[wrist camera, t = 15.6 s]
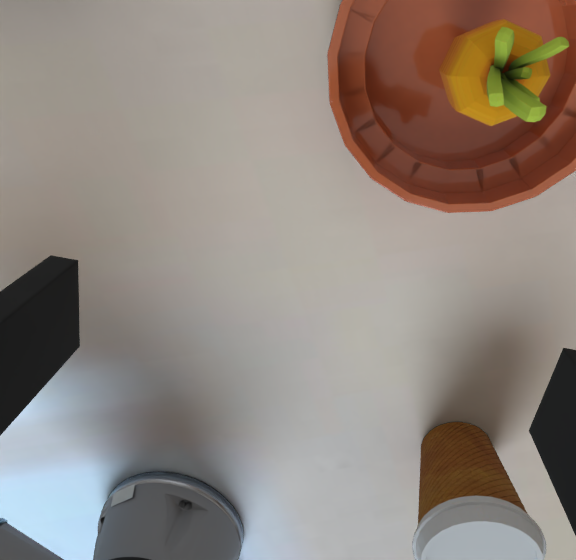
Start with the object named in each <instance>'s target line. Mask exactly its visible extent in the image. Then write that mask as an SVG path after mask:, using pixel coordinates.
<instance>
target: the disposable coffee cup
mask: <svg viewBox="0 0 576 560" xmlns="http://www.w3.org/2000/svg"><path fill="white" fill-rule="evenodd" d="M412 546H413V554H414V558H415V560H544V558H545V554H546V541H545V538H544V535H543V533H542V531H541V529H540V527H539V526H538V525H537V523H536V522H535V521H534V520H533V519H532V518H531V517H530V516H529V515H528V514H527V512H526V510H525V508H524V506H523V504H522V503H521V500H520V498H519V496H518V494H517V492H516V490H515V488H514V486H513V485H512V483H511V481H510V479H509V476H508V475H507V472H506V471H505V469H504V467H503V465H502V463H501V461H500V459H499V457H498V455H497V453H496V451H495V449H494V447H493V445H492V443H491V441H490V439H489V437H488V436H487V434H486V433H485V432H483V431H482V430H481V429H480V428H478V427H476V426H474V425H471V424H468V423H463V422H451V423H446V424H442V425H440V426H437V427H435V428H434V429H432V430H431V431H430V432H429V433H428V434H427V435H426V436H425V438H424V439H423V442H422V444H421V465H420V489H419V514H418V527H417V529H416V532H415V534H414V538H413V542H412Z"/></svg>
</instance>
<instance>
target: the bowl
mask: <svg viewBox="0 0 576 560" xmlns="http://www.w3.org/2000/svg"><path fill="white" fill-rule="evenodd" d="M502 19H505V20H507V21H509V22H512V23H514V24H516V25H518V26H520V27H523V28H525V29H527V30H529V31H531V32H534V33H536V34H538V35H540V36H542V41H543V45H544V44H546V43H547V42H549V41H551V40H553V39H555V38H557V37H564V38H566V39H567V40H568V42H569V47H568V48H566V49H564V50H563V51H561V52H559V53H557V54H556V55H554V56H552V57H550V58H547V62H548V67H549V71H550V77H549V79H548V81H547V82H546V84H545V86H544V87H543V89H542V91H541V93H540V94H539V96H538V97H539V98H540V102H541V103H542V104H544V105H546V113H545V115H544V116H543V118H542V119H541V120H539V121H536V122H526V121H524V120H523V119H521V118H520V117H518V116H517V117H514V118H511V119H509V120H506V121H504V122H501V123H498V124H496V125H493V126H489V125H486V124H484V123H482V122H479V121H477V120H475V119H473V118H470V117H468V116H466V115H464V114H461V113H459V112H457V111H455V109H454V108H453V107H452V106H451V104H450V103H449V101H448V98H447V95H446V92H445V88H444V85H443V82H442V78H441V75H440V72H439V68H440V66H441V64H442V62H443V60H444V58H445V56H446V54H447V52H448V50H449V48H450V46H451V44H452V42H453V40H454V38H455V37H457V36H459V35H461V34H464V33H466V32H468V31H471V30H473V29H475V28H478V27H480V26H482V25H485V24H487V23H490V22H493V21H496V20H502ZM328 78H329V101H330V105H331V108H332V111H333V114H334V117H335V119H336V122H337V125H338V128H339V130H340V133H341V136H342V139H343V142H344V144H345V146H346V147H347V148H348V150H349V151H350V152H351V154H352V155H353V156H354V157H355V159H356V160H357V161H358V163H359V164H360V165H361V166H362V168H363V169H364V170H365V171H366V173H367V174H368V175H369V177H370V178H372V179H373V180H374V181H376V182H377V183H379V184H380V185H382V186H383V187H385V188H386V189H388V190H389V191H391V192H392V193H394V194H395V195H397V196H398V197H400V198H401V199H403V200H404V201H407V202H410V203H413V204H417V205H421V206H424V207H428V208H432V209H435V210H439V211H442V212H448V213H452V212H482V211H493V210H496V209H499V208H502V207H505V206H509V205H512V204H515V203H518V202H521V201H524V200H527V199H530V198H533V197H536V196H537V195H539V194H541V193H542V192H544V191H545V190H547V189H548V188H550V187H551V186H553V185H554V184H556V183H557V182H559V181H560V180H562V179H563V178H565V177H567V176H568V175H570V174H571V173H573V172H574V171H576V0H342V2H341V4H340V7H339V11H338V15H337V19H336V23H335V27H334V31H333V35H332V38H331V42H330V46H329V50H328Z"/></svg>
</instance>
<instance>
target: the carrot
mask: <svg viewBox="0 0 576 560" xmlns="http://www.w3.org/2000/svg"><path fill="white" fill-rule="evenodd" d="M568 47H569V42H568V40H567V39H566V38H564V37H557V38H555V39H553V40H551V41H549V42H547V43H546V44H544V45H543V41H542V36H540V35H538V34H536V33H534V32H531V31H529V30H527V29H525V28H523V27H520V26H518V25H516V24H514V23H512V22H509V21H507V20H505V19H502V20H496V21H493V22H490V23H487V24H485V25H482V26H480V27H478V28H475V29H473V30H471V31H468V32H466V33H464V34H461V35H459V36H457V37H455V38H454V40H453V42H452V44H451V46H450V48H449V50H448V52H447V54H446V56H445V58H444V60H443V62H442V64H441V66H440V68H439V72H440V75H441V78H442V82H443V85H444V88H445V92H446V95H447V98H448V101H449V103H450V104H451V106H452V107H453V108H454V109H455V111H457V112H459V113H461V114H464V115H466V116H468V117H470V118H473V119H475V120H477V121H479V122H482V123H484V124H486V125H489V126H493V125H496V124H498V123H501V122H504V121H506V120H509V119H511V118H514V117H517V116H518V117H520V118H521V119H523V120H524V121H526V122H536V121H539V120H541V119H542V118H543V116H544V115H545V113H546V105H544V104H542V103H541V102H540V98H539V97H538V96H539V94H540V93H541V91H542V89H543V87H544V86H545V84H546V82H547V81H548V79H549V77H550V71H549V67H548V62H547V58H550V57H552V56H554V55H556V54H557V53H559V52H561V51H563V50H564V49H566V48H568Z"/></svg>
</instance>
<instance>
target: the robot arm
mask: <svg viewBox="0 0 576 560" xmlns="http://www.w3.org/2000/svg"><path fill="white" fill-rule="evenodd" d="M79 347H80V339H79V286H78V260H73V259H68V258H62V257H56V256H49V257H48V258H47V259H45V260H44V261H42V262H41V263H40V264H38V265H37V266H35V267H34V268H33V269H31V270H30V271H28V272H27V273H26V274H24V275H23V276H21V277H20V278H19V279H17V280H16V281H14V282H13V283H12V284H10V285H9V286H7V287H6V288H5V289H3V290H2V291H1V292H0V435H1V434H2V433H3V432H4V431H5V430H6V428H7V427H8V426H9V425H10V424H11V423H12V422H13V421H14V419H15V418H16V417H17V416H18V415H19V414H20V413H21V412H22V411H23V409H24V408H25V407H26V406H27V405H28V404H29V403H30V402H31V400H32V399H33V398H34V397H35V396H36V395H37V394H38V393H39V391H40V390H41V389H42V388H43V387H44V386H45V385H46V384H47V382H48V381H49V380H50V379H51V378H52V377H53V376H54V375H55V373H56V372H57V371H58V370H59V369H60V368H61V367H62V366H63V364H64V363H65V362H66V361H67V360H68V359H69V358H70V357H71V356H72V354H73V353H74V352H75V351H76V350H77V349H78V348H79ZM529 432H530V434H531V436H532V438H533V441H534V443H535V445H536V447H537V450H538V452H539V454H540V456H541V459H542V461H543V463H544V465H545V468H546V470H547V472H548V474H549V477H550V479H551V481H552V483H553V486H554V488H555V490H556V493H557V495H558V497H559V499H560V502H561V504H562V506H563V508H564V511H565V513H566V515H567V517H568V520H569V522H570V524H571V526H572V529H573V531H574V533H575V535H576V350H572V349H567V348H563V350H562V353H561V355H560V357H559V360H558V362H557V365H556V367H555V369H554V372H553V374H552V377H551V379H550V381H549V384H548V386H547V388H546V391H545V393H544V396H543V398H542V400H541V403H540V405H539V408H538V410H537V412H536V415H535V417H534V420H533V422H532V424H531V427H530V429H529ZM242 543H243V528H242V523H241V521H240V518H239V516H238V514H237V512H236V511H235V509H234V508H233V507H232V505H231V504H230V503H229V502H228V501H227V500H226V499H225V498H224V497H223V496H222V495H221V494H220V493H218V492H217V491H216V490H214V489H213V488H211V487H210V486H208V485H206V484H204V483H202V482H200V481H198V480H196V479H193V478H190V477H187V476H184V475H180V474H175V473H168V472H150V473H143V474H139V475H136V476H133V477H130V478H128V479H126V480H124V481H123V482H121V483H120V484H119V485H118V486H117V487H115V489H114V490H113V491H112V492H111V494H110V496H109V497H108V499H107V501H106V503H105V505H104V507H103V509H102V512H101V515H100V519H99V523H98V536H97V540H96V545H95V550H94V557H93V560H238V559H239V555H240V551H241V547H242ZM0 560H64V559H62V558H60V557H59V556H57V555H56V554H54V553H53V552H51V551H50V550H48V549H46V548H45V547H43V546H42V545H40V544H39V543H37V542H36V541H34V540H32V539H31V538H29V537H28V536H26V535H25V534H23V533H22V532H20V531H18V530H17V529H15V528H14V527H12V526H11V525H9V524H8V523H7V520H6V519H3V518H0Z"/></svg>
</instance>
